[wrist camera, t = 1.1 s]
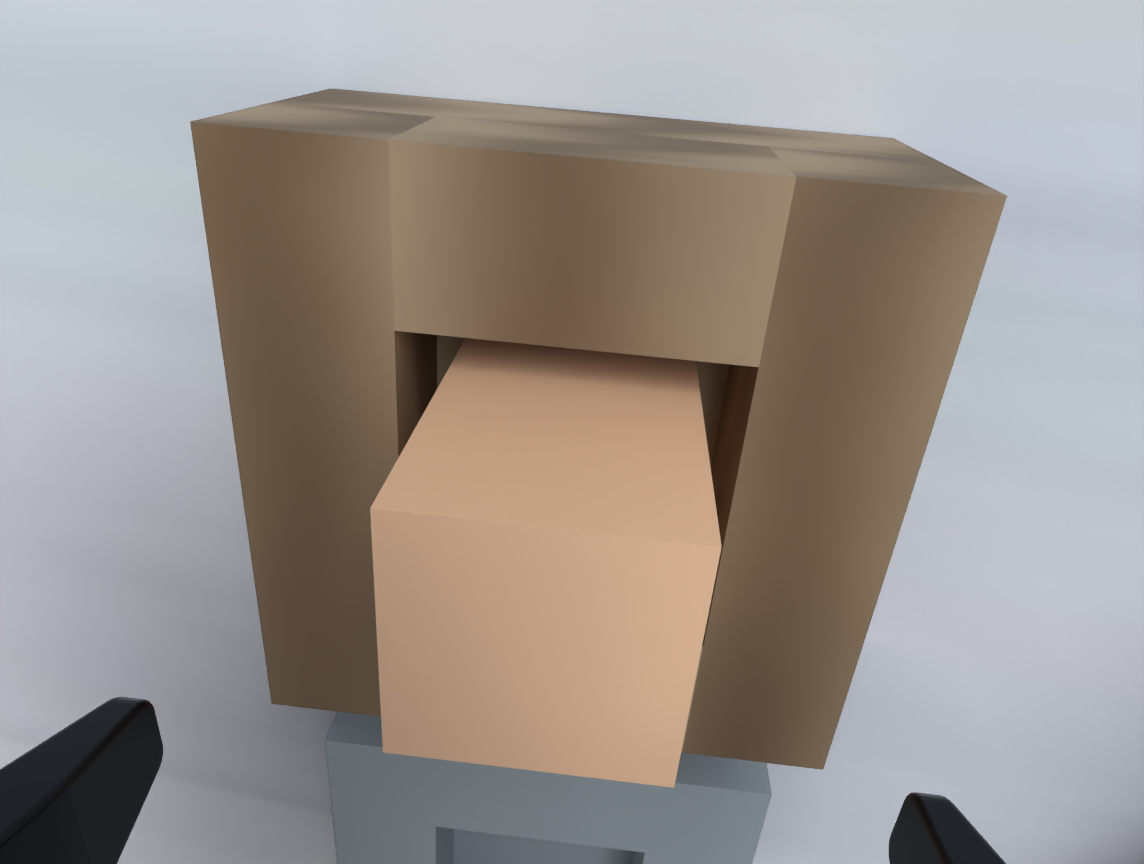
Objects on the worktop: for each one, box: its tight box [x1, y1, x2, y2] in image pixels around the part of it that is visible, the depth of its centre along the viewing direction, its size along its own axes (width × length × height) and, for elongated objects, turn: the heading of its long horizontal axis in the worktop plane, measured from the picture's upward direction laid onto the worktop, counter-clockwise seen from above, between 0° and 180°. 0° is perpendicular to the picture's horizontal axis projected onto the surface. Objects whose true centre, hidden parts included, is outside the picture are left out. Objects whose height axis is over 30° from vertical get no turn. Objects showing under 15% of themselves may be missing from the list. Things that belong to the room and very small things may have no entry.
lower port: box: [325, 712, 771, 864], centre depth 26 cm, size 12×12×4 cm
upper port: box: [190, 89, 1007, 769], centre depth 17 cm, size 12×12×6 cm
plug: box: [370, 338, 722, 788], centre depth 14 cm, size 4×4×7 cm
